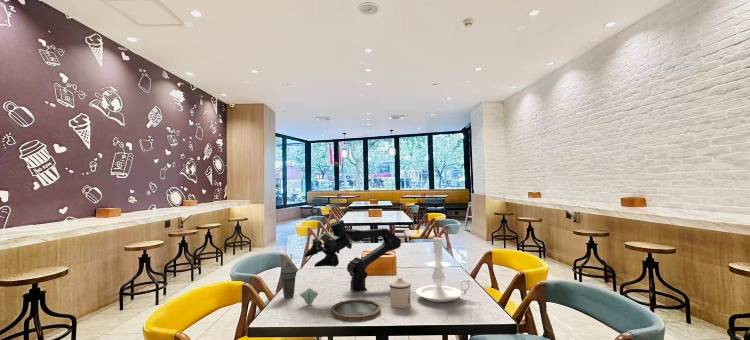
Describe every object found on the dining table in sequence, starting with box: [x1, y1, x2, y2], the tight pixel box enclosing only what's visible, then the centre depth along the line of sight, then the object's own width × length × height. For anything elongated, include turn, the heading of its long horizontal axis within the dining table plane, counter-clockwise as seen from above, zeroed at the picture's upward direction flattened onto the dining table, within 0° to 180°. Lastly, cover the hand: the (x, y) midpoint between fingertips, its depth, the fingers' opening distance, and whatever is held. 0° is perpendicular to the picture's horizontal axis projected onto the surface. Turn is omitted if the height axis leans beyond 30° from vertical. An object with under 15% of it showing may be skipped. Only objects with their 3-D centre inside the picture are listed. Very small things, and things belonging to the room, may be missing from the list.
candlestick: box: [415, 236, 471, 303], centre depth 152 cm, size 21×25×28 cm
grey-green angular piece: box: [299, 288, 319, 305], centre depth 146 cm, size 8×4×7 cm, turn 96°
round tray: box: [330, 298, 382, 322], centre depth 137 cm, size 20×20×2 cm
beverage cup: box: [280, 253, 298, 299], centre depth 157 cm, size 7×7×20 cm
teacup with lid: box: [389, 276, 411, 309], centre depth 145 cm, size 12×9×12 cm
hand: (309, 260), depth 153 cm, fingers open, 9 cm apart
